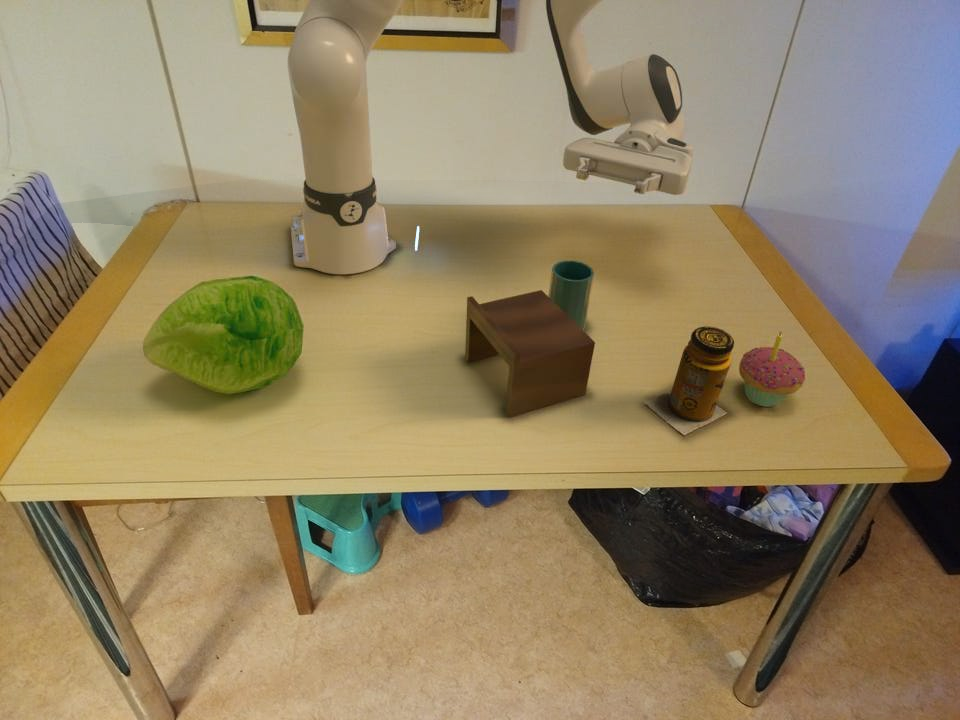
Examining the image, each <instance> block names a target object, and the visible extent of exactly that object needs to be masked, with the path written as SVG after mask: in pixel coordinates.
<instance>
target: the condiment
mask: <svg viewBox="0 0 960 720" xmlns="http://www.w3.org/2000/svg"><path fill="white" fill-rule="evenodd" d="M734 347H735V340H734V338H733V337H732V336H731V335H730V333H728V332H727V331H726V330H724V329H721V328H719V327H716V326H707V325H705V326H699V327H697V328H695V329H694V330H693V331H692V332H691V335H690V340H689V341H688V342H687V345H686V346H684V349H683V351H682V354H681V357H680V361H679V365H678V367H677V371H676V374H675V378H674V381H673V385H672V388H671V390H670V391H668V392H665V393H662V394H660V395H658V396H657V397H654V398H652V399H649V400H647V401H645V402H644V404H645V405H647V406H648V407H649V409H651V410H652V411H653V412H654V413H656V414H657V415H658V416H659V417H660V418H661V419H663V420H664V421H665V422H666V423H667V424H668V425H670V426H671V427H673V428H674V429H675V430H676V431H678V432H679V433H680V434H682V435H683V436H687V435H688V434H690V433H692V432H694V431H696V430H698V429H700V428H701V427H702V428H703V427H704V426H705V425H708V424H710V423H713V422H714V421H716V420H718V419H720V418H722V417H723V416H725V415H727V414H728V412H727V411H726V410H724V409H723V408H721V407H720V406H719V405H717V404H718V401H719V399H720V396H721V393H722V390H723V388H724V384H725V381H726V379H727V376H728V373H729V370H730V367H731V364H732V357H731V356H732V353H733V349H734Z"/></svg>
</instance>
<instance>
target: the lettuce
mask: <svg viewBox="0 0 960 720" xmlns="http://www.w3.org/2000/svg"><path fill="white" fill-rule="evenodd" d="M303 340H304V323H303V320H302V318H301V315H300V312H299V309H298V305H297V303H296V301H295V300H294V298H293V297H292V296H291V295H289V293H288V292H286V291H285V290H284V289H283V288H282V287H281V286H279V285H278V284H276V283H274V282H273V281H271V280H268V279H266V278H262V277H258V276H254V275H245V276H235V277H226V278H216V279H210V280H204V281H200V282H199V283H197V284H196V285H194V286H193V287H191V288H190V289H188V290H186V291H185V292H184V293H182V294H181V295H180V296H179V297H178V298H176V299H175V300H174V301H173V302H172V303H170V304H169V305H168V306H167V307H166V308H165V309H164V310H163V311H162V312H161V313H160V314H159V315H158V317H157V318H156V320H155V321H154V322H153V323H152V325H151V327H150V328H149V329H148V332H147V333H146V335H145V336H144V339H143V342H142V352H143V355H144V357H145V359H146V360H147V361H148V362H149V363H151V364H152V365H153V366H156V367H158V368H159V369H162V370H164V371H168V372H171V373H174V374H176V375H178V376H180V377H182V378H184V379H186V380H188V381H190V382H192V383H193V384H196V385H198V386H201V387H203V388H205V389H207V390H209V391H212V392H215V393H221V394H227V395H234V394H240V393H245V392H249V391H255V390H257V389H260V388H261V389H262V388H264V387H267V386H271V385H272V384H274V383H275V382H277V381H278V380H281V379H282V378H284V377H285V376H287V375H288V373H289V372H290V371H291V369H292V368H293V366H294V365H295V364H296V362H297V361H298V359H299V358H300V356H301V354H302V352H303V342H304V341H303Z"/></svg>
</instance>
